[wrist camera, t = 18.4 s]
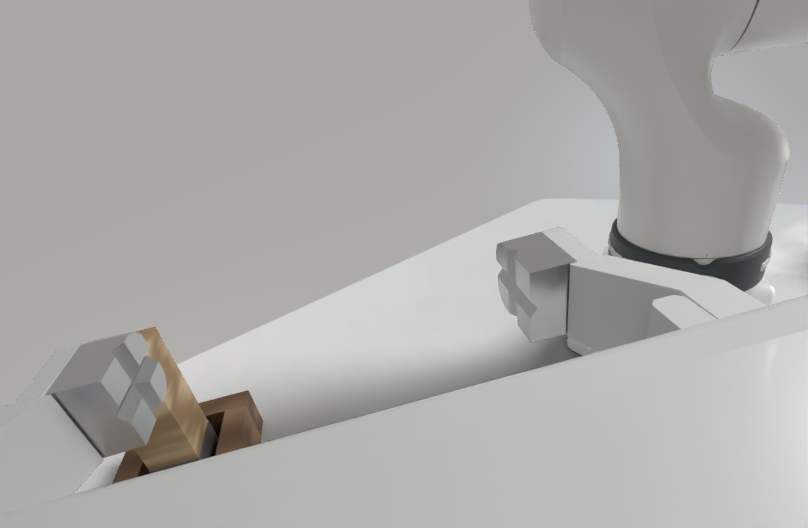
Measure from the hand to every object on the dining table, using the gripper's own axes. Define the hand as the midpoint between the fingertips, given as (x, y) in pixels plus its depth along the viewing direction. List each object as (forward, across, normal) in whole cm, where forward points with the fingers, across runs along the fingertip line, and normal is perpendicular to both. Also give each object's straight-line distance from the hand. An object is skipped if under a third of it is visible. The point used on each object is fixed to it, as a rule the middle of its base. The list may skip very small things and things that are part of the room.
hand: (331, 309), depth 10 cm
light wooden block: (+20, +18, +29) cm, 40 cm away
